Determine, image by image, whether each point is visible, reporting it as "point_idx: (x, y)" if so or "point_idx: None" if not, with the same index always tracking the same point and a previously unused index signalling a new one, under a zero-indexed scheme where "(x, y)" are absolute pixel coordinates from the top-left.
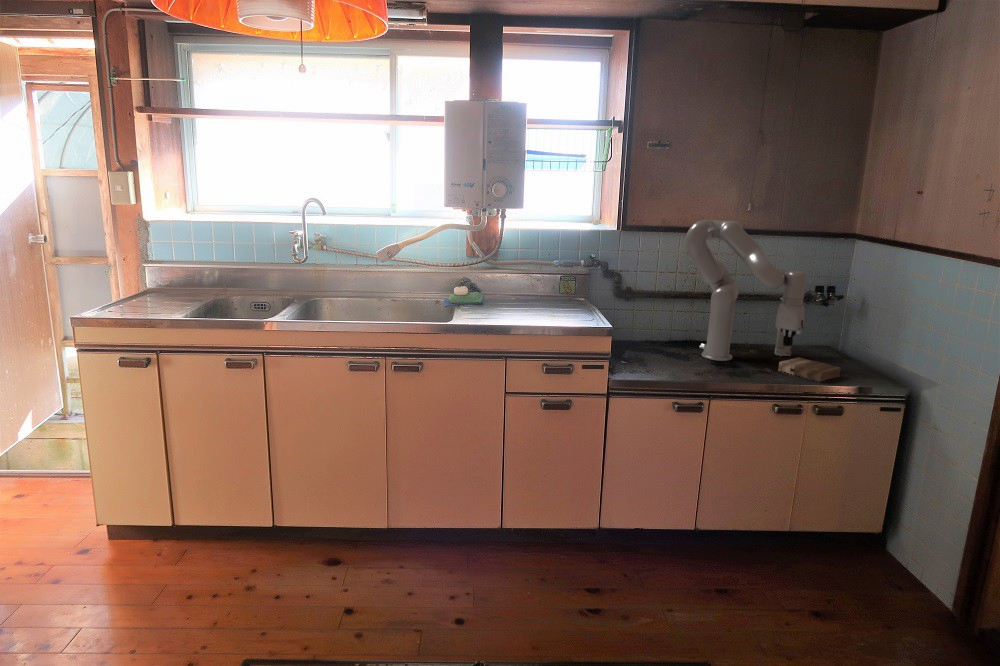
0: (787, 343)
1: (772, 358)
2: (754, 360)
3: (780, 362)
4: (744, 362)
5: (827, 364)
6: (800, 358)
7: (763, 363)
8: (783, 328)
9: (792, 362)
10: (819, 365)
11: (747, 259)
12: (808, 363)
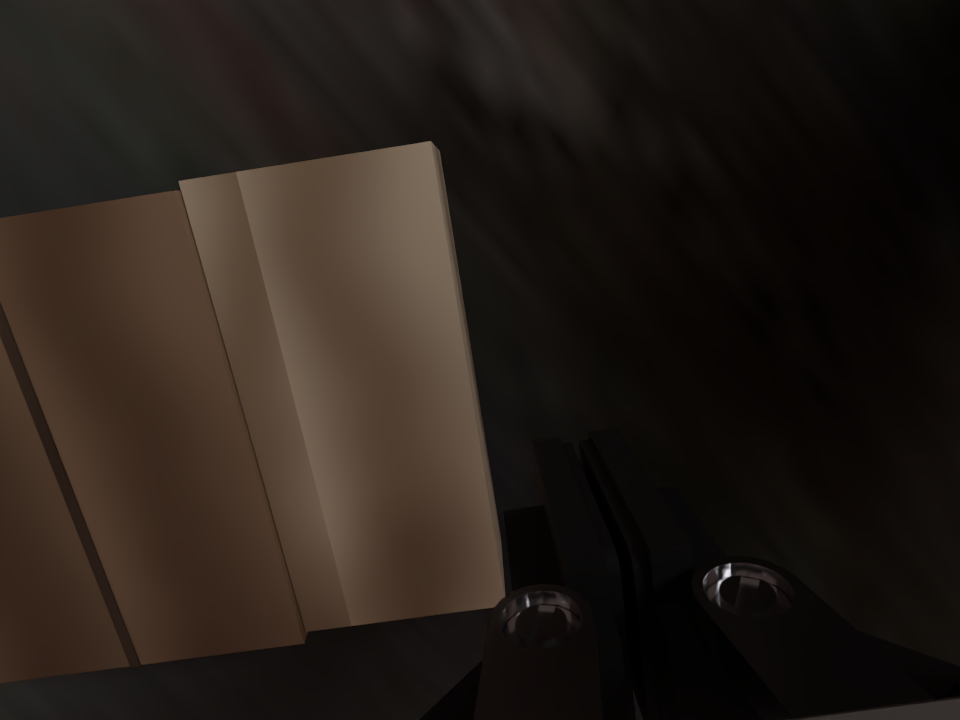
0: (539, 478)
1: (828, 518)
2: (893, 240)
3: (411, 144)
4: (911, 11)
5: (122, 654)
6: (460, 584)
7: (748, 243)
8: (908, 703)
9: (343, 320)
10: (102, 531)
11: None
12: (215, 473)
